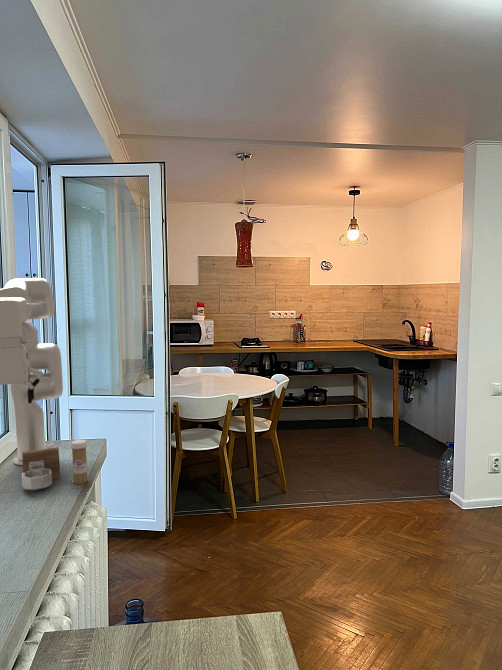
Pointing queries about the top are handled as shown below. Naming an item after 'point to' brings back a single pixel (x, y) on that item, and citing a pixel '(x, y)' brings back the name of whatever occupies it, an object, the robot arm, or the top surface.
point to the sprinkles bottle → (79, 461)
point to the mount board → (49, 459)
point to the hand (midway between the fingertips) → (11, 403)
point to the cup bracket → (36, 476)
